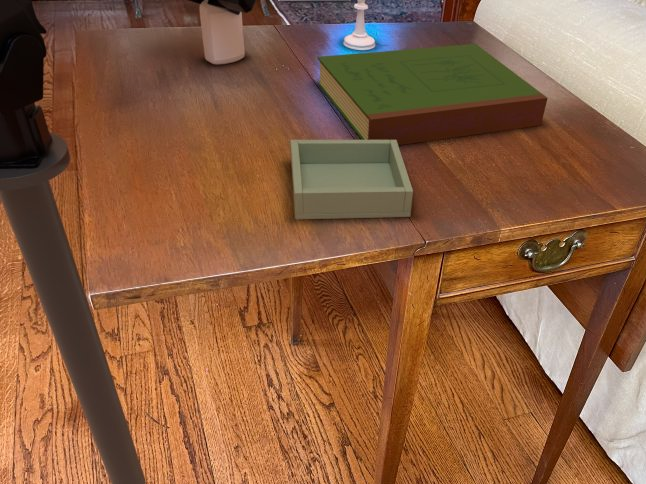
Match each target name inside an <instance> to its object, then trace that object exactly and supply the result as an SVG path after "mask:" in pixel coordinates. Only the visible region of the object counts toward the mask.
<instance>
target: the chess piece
mask: <svg viewBox="0 0 646 484" xmlns="http://www.w3.org/2000/svg"><path fill="white" fill-rule="evenodd" d="M353 8H354V9H355V10H357V13H356V20H355V26H354V30H353V31H352V33H351V34H348V35H346V36H345V37H344V38H343V45H344V46H345V47H346V48H347V49H350V50H355V51H369V50H373V49H375V47H376V40H375V39H374V37H372V36H370V35H368V32H366V21H365V10H368V9H369V5H368V4H366V0H357V3H355V4H354V6H353Z"/></svg>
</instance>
